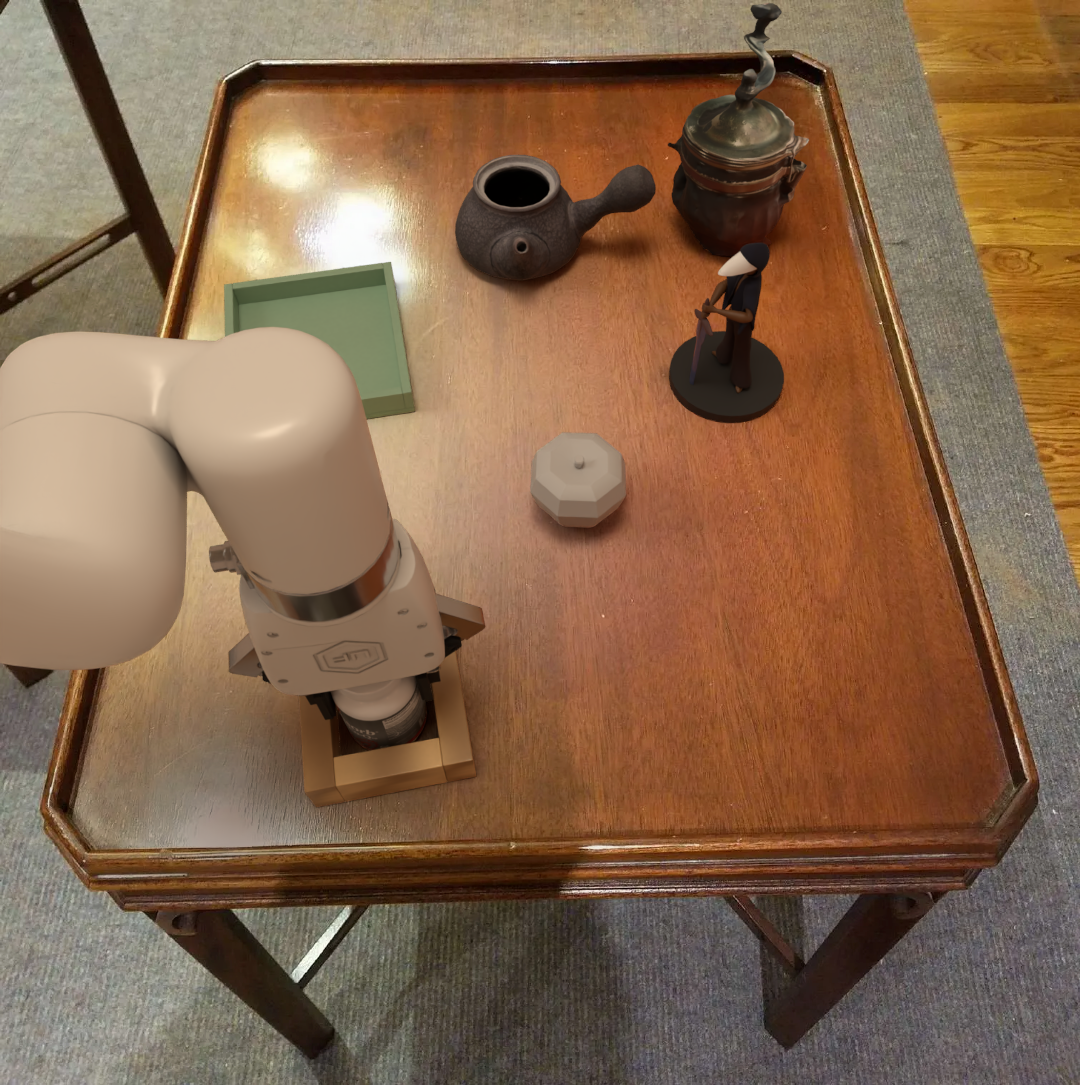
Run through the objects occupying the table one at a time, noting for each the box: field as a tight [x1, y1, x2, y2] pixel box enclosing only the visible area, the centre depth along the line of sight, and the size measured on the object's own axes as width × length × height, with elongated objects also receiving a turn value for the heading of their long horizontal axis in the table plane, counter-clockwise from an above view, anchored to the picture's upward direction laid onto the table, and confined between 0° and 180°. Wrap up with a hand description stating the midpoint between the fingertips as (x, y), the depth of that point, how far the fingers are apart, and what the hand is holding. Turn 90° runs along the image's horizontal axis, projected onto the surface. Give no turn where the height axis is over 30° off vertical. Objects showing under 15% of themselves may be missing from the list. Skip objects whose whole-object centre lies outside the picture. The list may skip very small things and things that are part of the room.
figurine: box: [668, 243, 785, 424], centre depth 75 cm, size 10×10×15 cm
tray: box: [223, 261, 416, 420], centre depth 83 cm, size 16×17×3 cm
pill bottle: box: [331, 675, 428, 751], centre depth 61 cm, size 6×6×10 cm
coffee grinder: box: [667, 2, 810, 257], centre depth 86 cm, size 13×15×18 cm
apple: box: [529, 431, 627, 529], centre depth 72 cm, size 8×8×7 cm
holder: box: [298, 650, 477, 808], centre depth 64 cm, size 11×11×4 cm
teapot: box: [454, 154, 657, 281], centre depth 86 cm, size 19×15×10 cm
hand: (377, 688), depth 61 cm, fingers closed on pill bottle, 5 cm apart
